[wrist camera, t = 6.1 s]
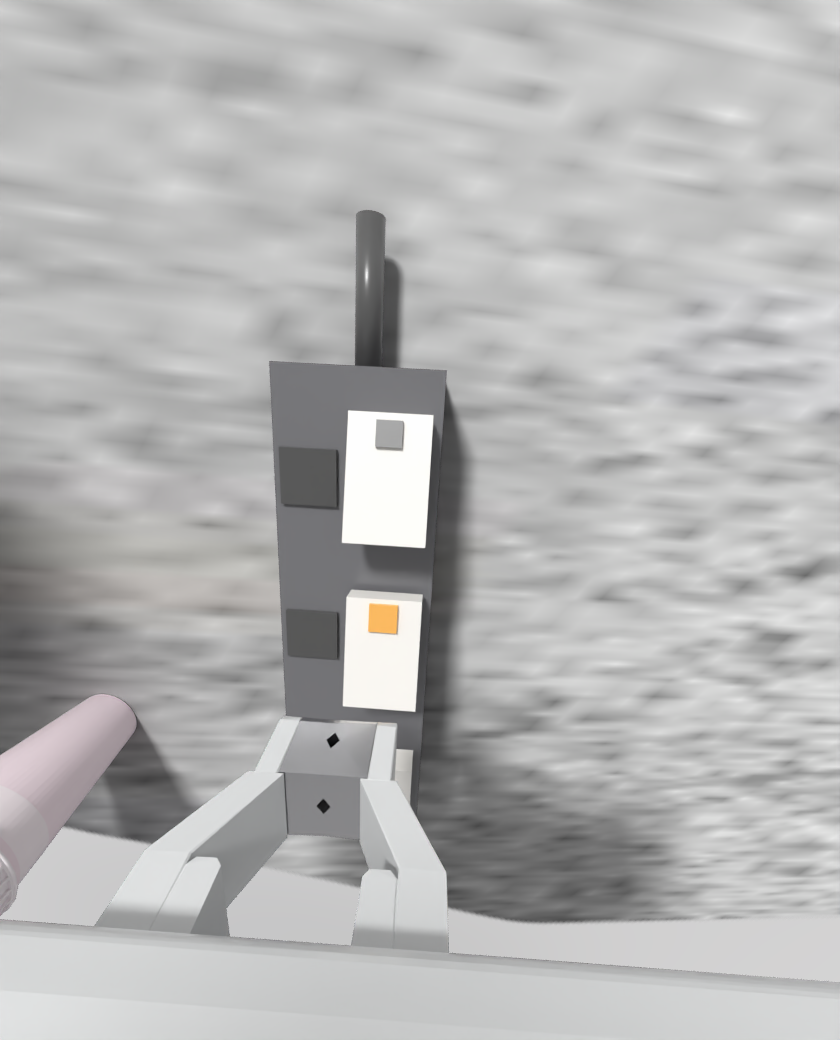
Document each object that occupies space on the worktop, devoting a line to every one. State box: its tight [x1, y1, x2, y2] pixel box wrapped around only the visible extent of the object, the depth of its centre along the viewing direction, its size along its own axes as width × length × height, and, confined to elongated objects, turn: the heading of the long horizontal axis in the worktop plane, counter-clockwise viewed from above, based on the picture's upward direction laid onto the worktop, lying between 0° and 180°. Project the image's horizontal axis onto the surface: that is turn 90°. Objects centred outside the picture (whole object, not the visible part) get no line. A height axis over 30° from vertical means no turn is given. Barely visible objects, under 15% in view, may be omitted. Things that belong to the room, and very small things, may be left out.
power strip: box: [269, 210, 447, 817], centre depth 19 cm, size 30×7×4 cm, turn 177°
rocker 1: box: [342, 410, 433, 548], centre depth 15 cm, size 5×3×1 cm, turn 177°
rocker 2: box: [343, 590, 423, 712], centre depth 17 cm, size 5×3×1 cm, turn 177°
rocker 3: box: [395, 749, 413, 804], centre depth 19 cm, size 5×3×1 cm, turn 176°
